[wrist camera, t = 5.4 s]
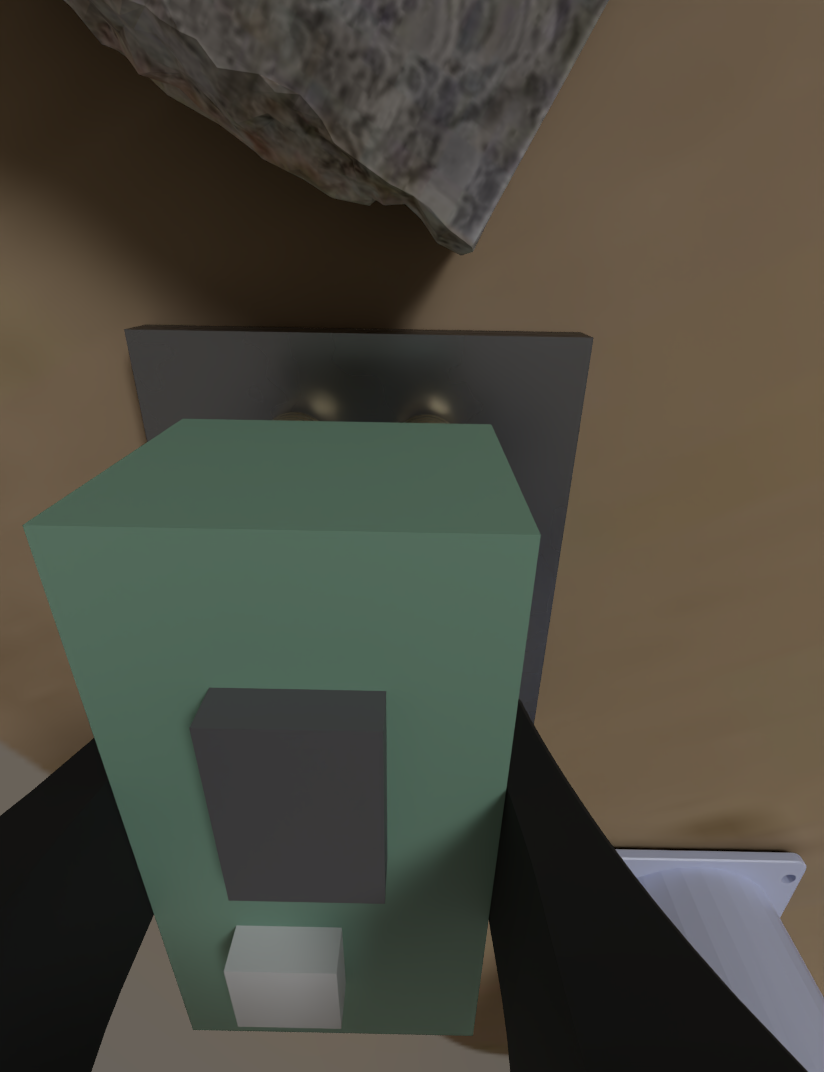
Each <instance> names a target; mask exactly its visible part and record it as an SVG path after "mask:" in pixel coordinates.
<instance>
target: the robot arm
mask: <svg viewBox="0 0 824 1072" xmlns="http://www.w3.org/2000/svg"><path fill="white" fill-rule="evenodd" d="M805 870H806V865H805V863H804V861H803V860H802V858H801V857H800V855H798V854H796V853H790V852H741V851H690V850H639V849H615V848H614V847H613V846H612V844H611V843H610V842H609V840H608V839H607V838H606V836H605V835H604V833H603V832H602V831H601V829H600V828H599V826H598V825H597V824H596V822H595V821H594V819H593V818H592V816H591V815H590V813H589V812H588V810H587V809H586V807H585V806H584V805H583V803H582V802H581V800H580V799H579V797H578V796H577V794H576V793H575V791H574V790H573V788H572V787H571V785H570V784H569V782H568V781H567V779H566V778H565V776H564V774H563V773H562V771H561V770H560V768H559V766H558V765H557V763H556V762H555V760H554V758H553V757H552V755H551V753H550V752H549V750H548V748H547V747H546V745H545V743H544V742H543V740H542V738H541V737H540V735H539V733H538V731H537V730H536V728H535V726H534V724H533V722H532V721H531V719H530V717H529V715H528V713H527V711H526V709H525V707H524V706H523V704H522V702H521V700H520V699H518V706H517V714H516V721H515V729H514V736H513V743H512V751H511V758H510V765H509V773H508V780H507V787H506V795H505V802H504V810H503V817H502V824H501V832H500V839H499V846H498V854H497V861H496V868H495V876H494V883H493V891H492V898H491V905H490V913H489V924H490V930H491V936H492V941H493V947H494V953H495V959H496V965H497V971H498V977H499V983H500V989H501V995H502V1002H503V1010H504V1017H505V1025H506V1032H507V1041H508V1052H509V1063H510V1072H824V997H823V995H822V994H821V992H820V990H819V988H818V986H817V985H816V983H815V981H814V979H813V977H812V976H811V974H810V972H809V970H808V968H807V966H806V965H805V963H804V961H803V959H802V957H801V956H800V954H799V952H798V950H797V948H796V947H795V945H794V943H793V941H792V939H791V938H790V936H789V934H788V932H787V930H786V929H785V927H784V925H783V923H782V921H781V920H780V917H781V915H782V913H783V911H784V909H785V907H786V906H787V904H788V902H789V900H790V898H791V896H792V894H793V893H794V891H795V889H796V887H797V885H798V883H799V881H800V880H801V878H802V876H803V874H804V872H805ZM153 915H154V913H153V910H152V907H151V904H150V901H149V898H148V895H147V892H146V889H145V886H144V883H143V880H142V877H141V874H140V871H139V868H138V865H137V862H136V859H135V856H134V853H133V850H132V847H131V844H130V842H129V839H128V836H127V833H126V830H125V827H124V824H123V821H122V818H121V815H120V812H119V809H118V806H117V803H116V800H115V797H114V794H113V791H112V788H111V785H110V782H109V779H108V776H107V773H106V771H105V768H104V765H103V762H102V759H101V756H100V753H99V750H98V747H97V744H96V741H95V738H93V739H92V740H91V741H90V742H89V743H88V744H87V745H85V746H84V747H83V748H82V749H81V750H80V751H78V752H77V753H76V754H75V755H74V756H72V757H71V758H70V759H69V760H68V761H67V762H65V763H64V764H63V765H62V766H61V767H59V768H58V769H57V770H56V771H55V772H54V773H52V774H51V775H50V776H49V777H48V778H46V779H45V780H44V781H43V782H42V783H41V784H39V785H38V786H37V787H36V788H35V789H34V790H32V791H31V792H30V793H29V794H27V795H26V796H25V797H24V798H22V799H21V800H20V801H18V802H17V803H16V804H15V805H13V806H12V807H11V808H10V809H8V810H7V811H6V812H5V813H3V814H2V815H1V816H0V1072H91V1071H92V1068H93V1065H94V1062H95V1059H96V1056H97V1053H98V1050H99V1047H100V1045H101V1042H102V1038H103V1036H104V1033H105V1030H106V1027H107V1025H108V1022H109V1020H110V1017H111V1014H112V1012H113V1009H114V1007H115V1004H116V1002H117V999H118V996H119V994H120V991H121V989H122V987H123V984H124V982H125V980H126V978H127V975H128V973H129V971H130V968H131V966H132V963H133V961H134V959H135V957H136V954H137V952H138V950H139V947H140V945H141V943H142V941H143V938H144V936H145V933H146V931H147V929H148V926H149V924H150V922H151V920H152V917H153Z"/></svg>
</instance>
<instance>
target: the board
mask: <svg viewBox="0 0 824 1072" xmlns="http://www.w3.org/2000/svg"><path fill="white" fill-rule="evenodd" d="M23 528H24V531H25V534H26V537H27V540H28V543H29V546H30V549H31V552H32V555H33V558H34V560H35V563H36V566H37V569H38V572H39V575H40V578H41V581H42V584H43V587H44V590H45V593H46V596H47V599H48V602H49V605H50V608H51V611H52V614H53V617H54V620H55V623H56V626H57V629H58V631H59V634H60V637H61V640H62V643H63V646H64V649H65V652H66V655H67V658H68V661H69V664H70V667H71V670H72V673H73V676H74V679H75V682H76V685H77V688H78V691H79V694H80V697H81V700H82V702H83V705H84V708H85V711H86V714H87V717H88V720H89V723H90V726H91V729H92V732H93V735H94V738H95V741H96V744H97V747H98V750H99V753H100V756H101V759H102V762H103V765H104V768H105V771H106V773H107V776H108V779H109V782H110V785H111V788H112V791H113V794H114V797H115V800H116V803H117V806H118V809H119V812H120V815H121V818H122V821H123V824H124V827H125V830H126V833H127V836H128V839H129V842H130V844H131V847H132V850H133V853H134V856H135V859H136V862H137V865H138V868H139V871H140V874H141V877H142V880H143V883H144V886H145V889H146V892H147V895H148V898H149V901H150V904H151V907H152V910H153V913H154V915H155V918H156V921H157V924H158V927H159V930H160V933H161V936H162V939H163V942H164V945H165V948H166V951H167V954H168V957H169V959H170V963H171V966H172V969H173V972H174V974H175V978H176V981H177V983H178V986H179V989H180V992H181V995H182V998H183V1001H184V1004H185V1007H186V1010H187V1013H188V1016H189V1019H190V1022H191V1025H192V1028H193V1030H228V1031H231V1030H232V1031H276V1032H323V1033H369V1034H416V1035H421V1034H422V1035H463V1036H473V1030H474V1023H475V1016H476V1008H477V1001H478V994H479V986H480V979H481V972H482V964H483V957H484V949H485V942H486V935H487V927H488V920H489V913H490V905H491V898H492V891H493V883H494V876H495V868H496V861H497V854H498V846H499V839H500V832H501V824H502V817H503V810H504V802H505V795H506V787H507V780H508V773H509V765H510V758H511V751H512V743H513V736H514V729H515V721H516V714H517V706H518V699H519V692H520V684H521V677H522V670H523V662H524V655H525V648H526V640H527V633H528V625H529V618H530V611H531V603H532V596H533V589H534V581H535V574H536V567H537V559H538V552H539V544H540V537H541V534H540V532H539V530H538V528H537V525H536V523H535V521H534V519H533V516H532V514H531V512H530V510H529V507H528V505H527V503H526V501H525V498H524V496H523V494H522V492H521V490H520V487H519V485H518V483H517V481H516V478H515V476H514V474H513V472H512V469H511V467H510V465H509V463H508V460H507V458H506V456H505V454H504V452H503V449H502V447H501V445H500V443H499V440H498V438H497V436H496V434H495V431H494V429H493V427H492V425H491V424H445V423H390V422H335V421H280V420H225V419H182V420H180V421H179V422H177V423H176V424H174V425H172V426H171V427H169V428H168V429H166V430H165V431H163V432H162V433H160V434H159V435H157V436H156V437H154V438H153V439H151V440H150V441H148V442H147V443H145V444H144V445H142V446H141V447H139V448H138V449H136V450H135V451H133V452H132V453H130V454H129V455H127V456H126V457H124V458H123V459H121V460H120V461H118V462H117V463H115V464H114V465H112V466H111V467H109V468H108V469H106V470H105V471H103V472H102V473H100V474H99V475H97V476H96V477H94V478H93V479H91V480H90V481H88V482H87V483H85V484H84V485H82V486H81V487H79V488H78V489H76V490H75V491H73V492H72V493H70V494H69V495H67V496H66V497H64V498H63V499H61V500H60V501H58V502H57V503H55V504H54V505H52V506H51V507H49V508H48V509H46V510H45V511H43V512H42V513H40V514H39V515H37V516H36V517H34V518H33V519H31V520H30V521H28V522H27V523H25V524H24V525H23Z"/></svg>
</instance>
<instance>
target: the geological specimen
mask: <svg viewBox="0 0 824 1072" xmlns="http://www.w3.org/2000/svg"><path fill="white" fill-rule="evenodd" d="M64 1H65V2H66V3H67V4H68V5H69V6H70V7H72V8H73V9H74V11H75V12H76V13H77V15H78V16H79V17H80V18H81V20H82V21H83V22H84V23H85V24H86V26H87V27H88V28H89V29H90V31H91V32H92V33H93V34H94V35H95V37H96V38H97V39H98V40H99V42H100V43H101V44H102V45H105V46H107V47H110V48H112V49H115V50H117V51H119V52H120V53H121V54H123V55H124V56H126V57H127V58H128V60H129V61H130V63H131V64H132V65H133V67H134V68H135V70H136V71H137V72H138V74H139V75H142V76H145V77H148V78H150V79H151V80H152V81H153V82H154V83H155V84H156V85H157V86H158V87H159V88H160V89H162V90H163V91H164V92H165V93H166V94H167V95H168V96H170V97H172V98H173V99H175V100H177V101H179V102H180V103H182V104H184V105H186V106H188V107H189V108H191V109H193V110H195V111H196V112H198V113H200V114H202V115H203V116H205V117H207V118H209V119H210V120H212V121H214V122H216V123H217V124H219V125H221V126H222V127H223V128H224V129H226V130H227V131H228V132H230V133H231V134H232V135H234V136H235V137H236V138H238V139H239V140H240V141H242V142H243V143H244V144H246V145H247V146H248V147H249V148H251V149H252V150H253V151H255V152H256V153H257V154H258V155H259V156H260V157H261V158H262V159H264V160H266V161H268V162H270V163H272V164H274V165H276V166H278V167H280V168H282V169H284V170H285V171H287V172H289V173H292V174H294V175H296V176H298V177H300V178H302V179H303V180H305V181H307V182H308V183H310V184H311V185H313V186H314V187H316V188H317V189H319V190H320V191H322V192H323V193H325V194H327V195H328V196H330V197H331V198H335V199H339V200H344V201H349V202H354V203H358V204H363V205H368V206H370V205H371V204H372V203H373V202H374V201H378V202H380V203H381V204H383V205H398V204H406V205H407V206H408V207H409V208H410V209H411V210H412V211H413V212H414V213H415V214H416V215H417V216H418V217H419V218H420V219H421V220H422V221H423V223H424V224H425V226H426V227H427V229H428V230H429V232H430V233H431V235H432V236H433V238H434V239H435V241H436V242H437V243H438V244H440V245H442V246H444V247H446V248H448V249H450V250H452V251H454V252H456V253H457V254H459V255H464V254H467V253H470V252H473V251H474V249H475V246H476V244H477V242H478V240H479V238H480V236H481V234H482V232H483V230H484V228H485V226H486V224H487V222H488V220H489V218H490V216H491V214H492V212H493V210H494V208H495V207H496V205H497V203H498V201H499V199H500V197H501V196H502V194H503V192H504V190H505V188H506V187H507V185H508V183H509V181H510V179H511V177H512V176H513V174H514V172H515V170H516V168H517V166H518V165H519V163H520V161H521V159H522V157H523V156H524V154H525V152H526V150H527V148H528V147H529V145H530V143H531V141H532V139H533V137H534V136H535V134H536V132H537V130H538V128H539V127H540V125H541V123H542V121H543V119H544V117H545V116H546V114H547V112H548V110H549V108H550V107H551V105H552V103H553V101H554V99H555V97H556V96H557V94H558V92H559V90H560V88H561V87H562V85H563V83H564V81H565V79H566V77H567V76H568V74H569V72H570V70H571V68H572V67H573V65H574V63H575V61H576V59H577V57H578V56H579V54H580V52H581V50H582V48H583V46H584V45H585V43H586V41H587V39H588V37H589V35H590V34H591V32H592V30H593V28H594V26H595V24H596V23H597V21H598V19H599V17H600V15H601V13H602V12H603V10H604V8H605V6H606V4H607V2H608V1H609V0H64Z"/></svg>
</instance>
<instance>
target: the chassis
mask: <svg viewBox="0 0 824 1072" xmlns="http://www.w3.org/2000/svg"><path fill="white" fill-rule="evenodd" d="M124 331H125V336H126V340H127V345H128V350H129V355H130V360H131V365H132V370H133V375H134V379H135V384H136V389H137V394H138V399H139V404H140V409H141V413H142V418H143V423H144V428H145V433H146V438H147V442H148V441H150V440H151V439H153V438H154V437H156V436H157V435H159V434H160V433H162V432H163V431H165V430H166V429H168V428H169V427H171V426H172V425H174V424H176V423H177V422H179V421H180V420H182V419H225V420H280V421H335V422H390V423H445V424H491V425H492V427H493V429H494V431H495V434H496V436H497V438H498V440H499V443H500V445H501V447H502V449H503V452H504V454H505V456H506V458H507V460H508V463H509V465H510V467H511V469H512V472H513V474H514V476H515V478H516V481H517V483H518V485H519V487H520V490H521V492H522V494H523V496H524V498H525V501H526V503H527V505H528V507H529V510H530V512H531V514H532V516H533V519H534V521H535V523H536V525H537V528H538V530H539V532H540V534H541V537H540V544H539V552H538V559H537V567H536V574H535V581H534V589H533V596H532V603H531V611H530V618H529V625H528V633H527V640H526V648H525V655H524V662H523V670H522V677H521V684H520V692H519V699H520V700H521V702H522V704H523V706H524V707H525V709H526V711H527V713H528V715H529V717H530V719H531V721H532V722H533V724H534V720H535V713H536V707H537V700H538V694H539V687H540V681H541V674H542V668H543V661H544V655H545V648H546V642H547V635H548V629H549V622H550V616H551V609H552V603H553V596H554V590H555V583H556V577H557V570H558V564H559V557H560V551H561V544H562V538H563V532H564V525H565V519H566V512H567V506H568V499H569V493H570V486H571V480H572V473H573V467H574V460H575V454H576V447H577V441H578V434H579V428H580V421H581V415H582V408H583V402H584V395H585V389H586V382H587V376H588V369H589V363H590V356H591V350H592V344H593V337H591V336H588V335H586V334H583V333H581V332H525V331H468V330H411V329H354V328H297V327H240V326H183V325H142V326H138V327H133V328H128V329H124Z"/></svg>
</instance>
